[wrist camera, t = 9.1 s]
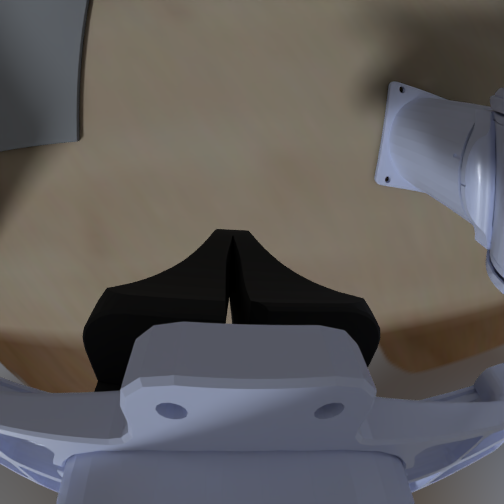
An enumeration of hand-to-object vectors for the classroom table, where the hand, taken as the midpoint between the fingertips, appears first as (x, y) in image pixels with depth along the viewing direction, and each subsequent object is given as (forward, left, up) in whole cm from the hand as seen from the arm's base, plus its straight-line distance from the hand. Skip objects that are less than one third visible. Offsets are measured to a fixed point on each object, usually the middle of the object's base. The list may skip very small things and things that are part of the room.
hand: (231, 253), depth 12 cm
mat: (+21, -13, -10) cm, 27 cm away
